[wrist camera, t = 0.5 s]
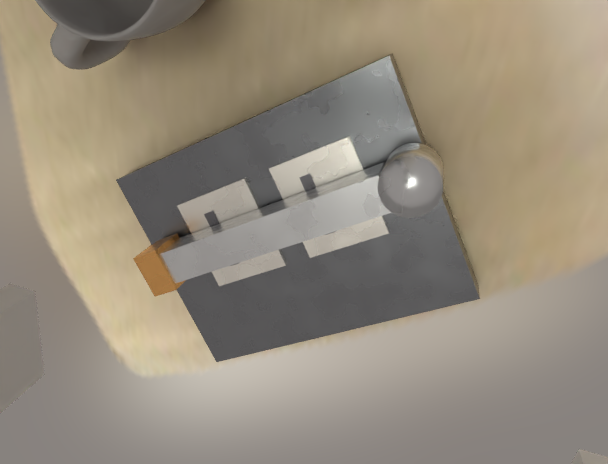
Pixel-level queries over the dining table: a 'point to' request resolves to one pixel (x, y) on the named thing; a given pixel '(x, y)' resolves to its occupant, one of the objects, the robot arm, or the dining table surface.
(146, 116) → the dining table surface
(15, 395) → the robot arm
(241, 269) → the chassis
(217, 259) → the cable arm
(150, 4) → the mug
